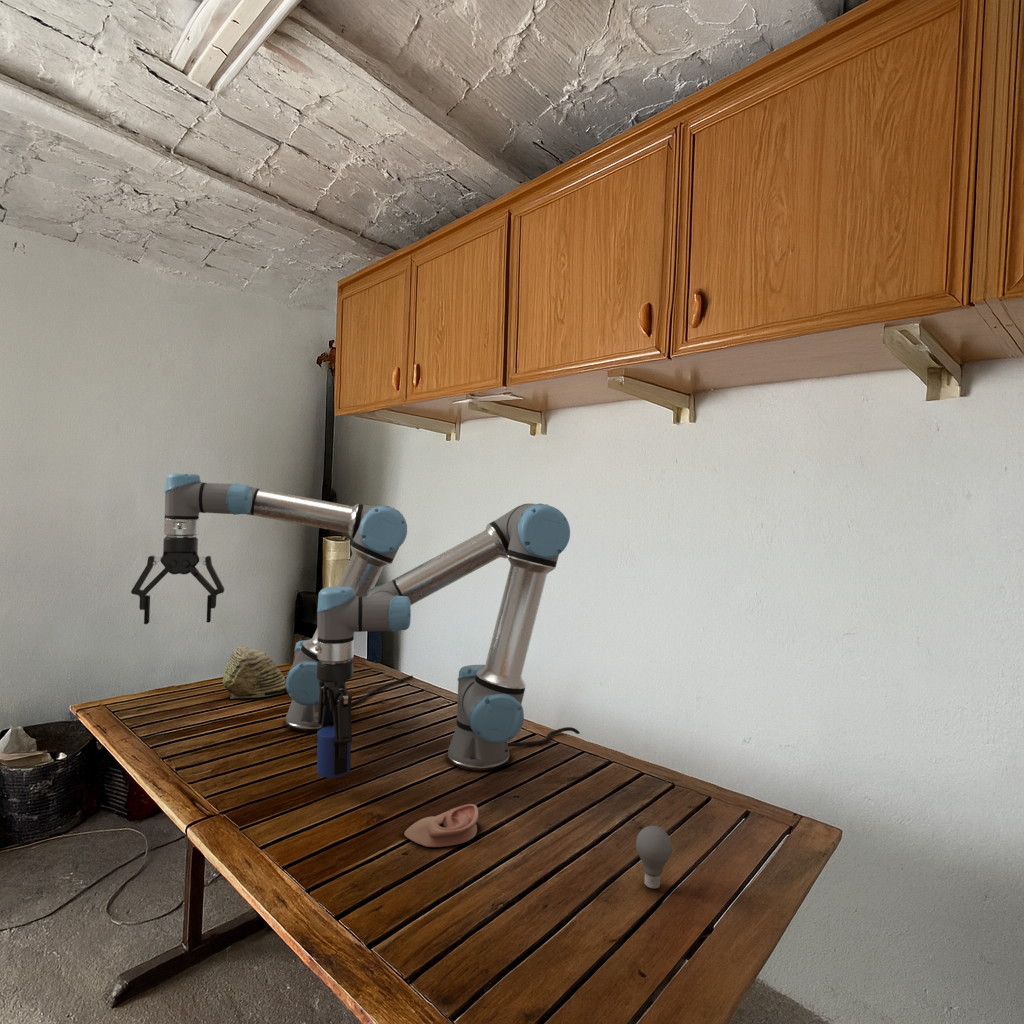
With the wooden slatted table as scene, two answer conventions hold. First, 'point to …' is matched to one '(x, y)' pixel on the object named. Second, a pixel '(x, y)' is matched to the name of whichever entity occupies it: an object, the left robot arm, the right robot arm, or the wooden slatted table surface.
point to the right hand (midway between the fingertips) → (333, 766)
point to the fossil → (252, 674)
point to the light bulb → (653, 853)
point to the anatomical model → (445, 827)
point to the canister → (328, 753)
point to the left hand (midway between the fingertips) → (178, 622)
